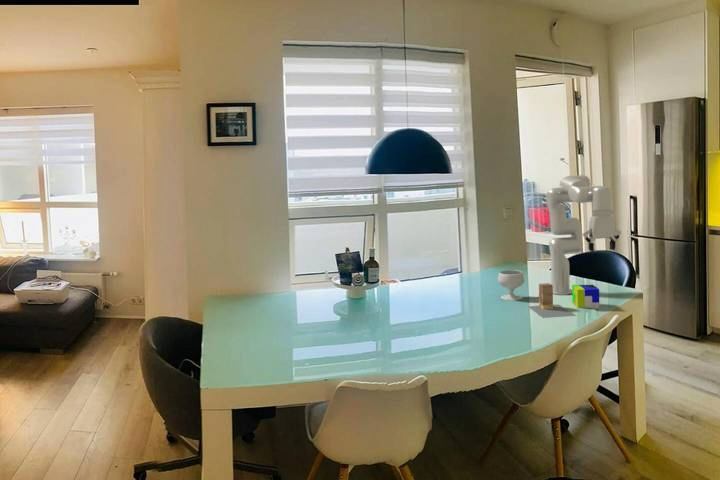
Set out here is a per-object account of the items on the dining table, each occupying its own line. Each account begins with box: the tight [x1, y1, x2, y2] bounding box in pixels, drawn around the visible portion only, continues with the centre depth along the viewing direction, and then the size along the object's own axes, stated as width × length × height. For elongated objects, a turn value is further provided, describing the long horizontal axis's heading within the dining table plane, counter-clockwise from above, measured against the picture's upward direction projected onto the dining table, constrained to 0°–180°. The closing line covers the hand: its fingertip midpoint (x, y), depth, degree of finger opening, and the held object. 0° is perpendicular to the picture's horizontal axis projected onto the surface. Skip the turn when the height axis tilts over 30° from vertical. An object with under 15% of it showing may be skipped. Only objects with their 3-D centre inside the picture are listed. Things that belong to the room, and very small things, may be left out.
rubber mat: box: [527, 304, 577, 319], centre depth 221 cm, size 20×16×1 cm
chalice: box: [497, 269, 525, 301], centre depth 249 cm, size 14×14×15 cm
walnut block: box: [538, 282, 554, 309], centre depth 226 cm, size 5×5×12 cm
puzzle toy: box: [571, 284, 600, 310], centre depth 226 cm, size 10×10×10 cm
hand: (601, 250), depth 207 cm, fingers open, 9 cm apart
